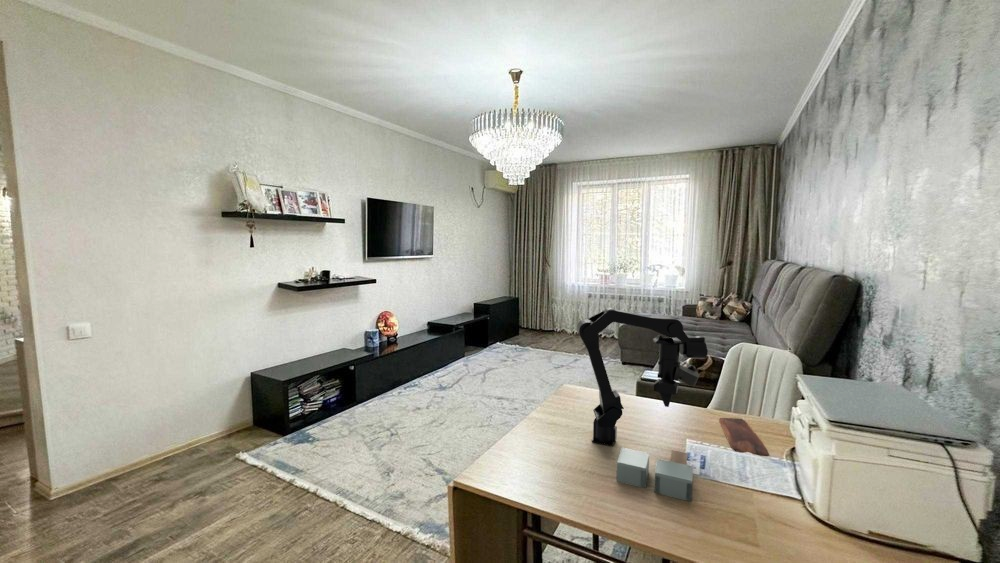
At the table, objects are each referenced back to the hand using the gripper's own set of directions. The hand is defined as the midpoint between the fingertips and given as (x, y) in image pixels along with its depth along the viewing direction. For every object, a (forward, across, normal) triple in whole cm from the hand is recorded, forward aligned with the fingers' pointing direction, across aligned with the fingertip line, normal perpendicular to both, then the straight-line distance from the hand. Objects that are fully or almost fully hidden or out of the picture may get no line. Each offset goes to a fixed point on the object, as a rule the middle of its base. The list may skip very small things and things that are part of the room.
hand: (666, 406), depth 124 cm
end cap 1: (+12, -24, +6) cm, 27 cm away
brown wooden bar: (+12, -18, -5) cm, 23 cm away
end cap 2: (+12, -25, -4) cm, 28 cm away
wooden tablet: (+12, +18, -22) cm, 30 cm away
